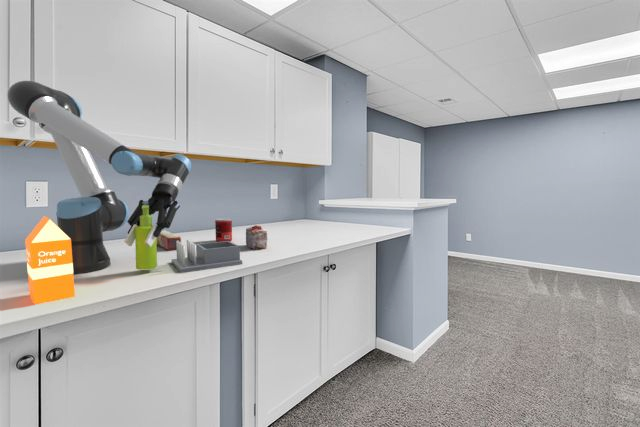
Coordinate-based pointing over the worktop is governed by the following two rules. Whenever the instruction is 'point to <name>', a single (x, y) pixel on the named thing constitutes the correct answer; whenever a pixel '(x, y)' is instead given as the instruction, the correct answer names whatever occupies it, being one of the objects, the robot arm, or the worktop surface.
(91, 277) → the worktop surface
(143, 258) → the soap dispenser
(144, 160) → the robot arm
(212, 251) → the dish rack
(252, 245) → the food item
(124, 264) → the worktop surface
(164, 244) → the snack package
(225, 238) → the canned food
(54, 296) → the orange juice
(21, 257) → the worktop surface
